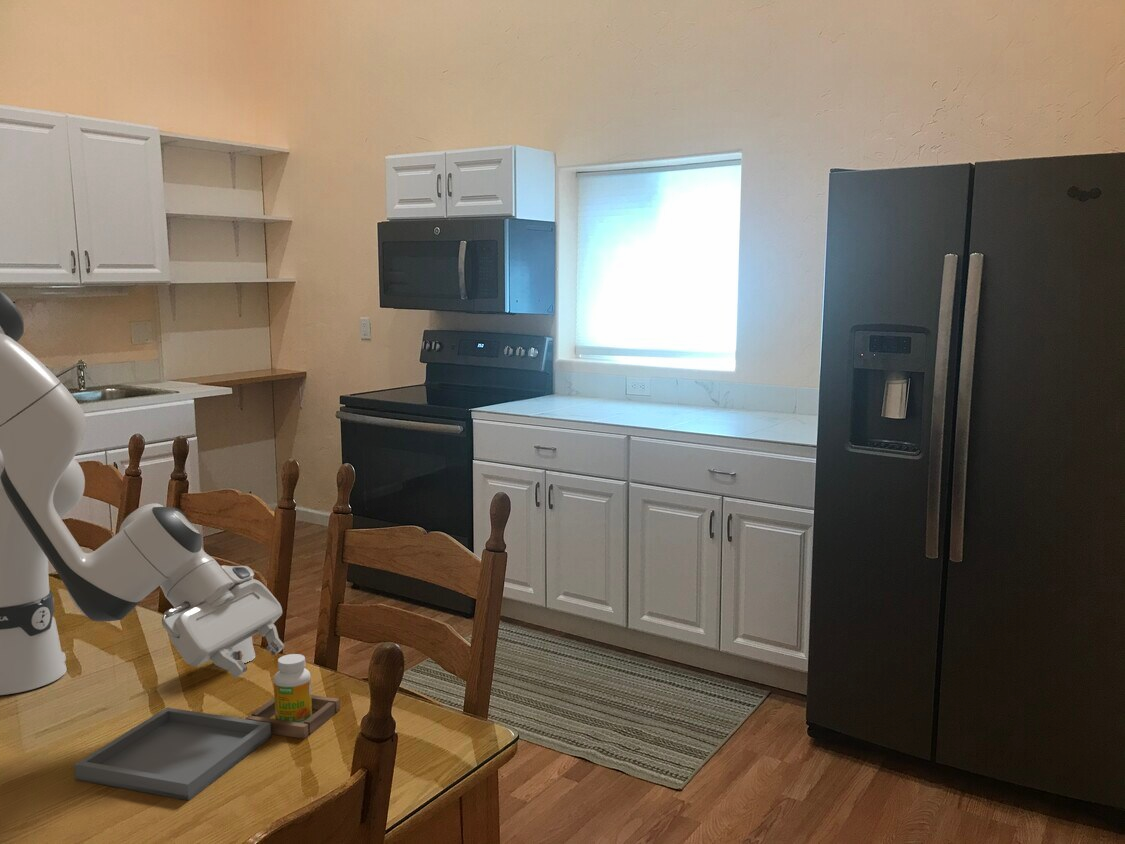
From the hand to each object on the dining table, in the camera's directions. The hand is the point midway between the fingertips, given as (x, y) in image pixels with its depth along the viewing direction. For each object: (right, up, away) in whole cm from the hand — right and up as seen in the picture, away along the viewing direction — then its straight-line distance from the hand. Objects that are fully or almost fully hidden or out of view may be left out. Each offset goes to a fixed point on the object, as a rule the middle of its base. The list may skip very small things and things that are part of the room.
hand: (261, 662), depth 142 cm
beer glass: (-12, -6, +24) cm, 28 cm away
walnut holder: (+5, -9, 0) cm, 10 cm away
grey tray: (-8, -10, -11) cm, 17 cm away
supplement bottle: (+5, -9, 0) cm, 10 cm away
